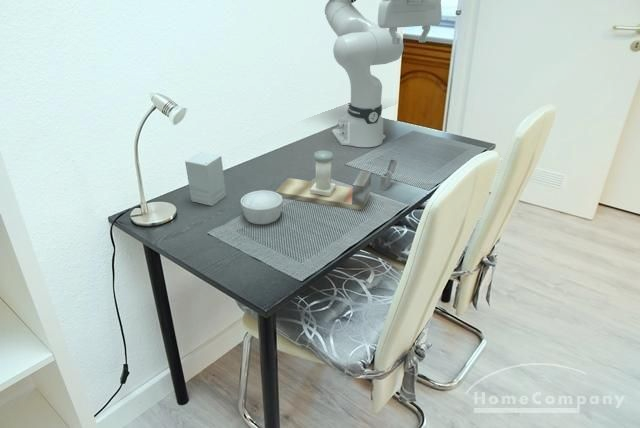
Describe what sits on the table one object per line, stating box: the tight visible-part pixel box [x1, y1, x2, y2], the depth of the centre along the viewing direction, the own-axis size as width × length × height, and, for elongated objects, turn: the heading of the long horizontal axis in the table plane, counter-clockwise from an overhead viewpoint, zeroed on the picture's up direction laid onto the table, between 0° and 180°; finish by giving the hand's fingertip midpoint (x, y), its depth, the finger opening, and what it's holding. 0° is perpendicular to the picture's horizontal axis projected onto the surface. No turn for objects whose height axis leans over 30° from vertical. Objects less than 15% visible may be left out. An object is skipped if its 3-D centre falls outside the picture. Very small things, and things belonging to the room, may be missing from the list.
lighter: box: [379, 158, 398, 191], centre depth 137 cm, size 7×2×8 cm, turn 146°
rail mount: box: [275, 170, 372, 211], centre depth 131 cm, size 26×10×8 cm, turn 72°
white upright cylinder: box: [310, 150, 337, 196], centre depth 129 cm, size 6×6×11 cm
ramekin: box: [239, 189, 284, 225], centre depth 121 cm, size 11×11×5 cm
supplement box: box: [184, 151, 227, 207], centre depth 128 cm, size 7×7×13 cm
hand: (409, 43), depth 134 cm, fingers open, 8 cm apart
